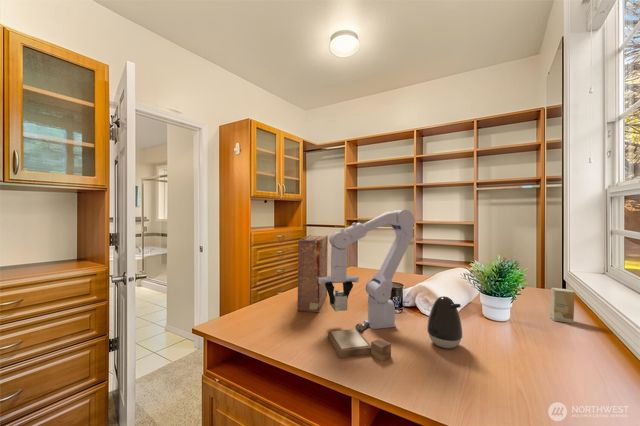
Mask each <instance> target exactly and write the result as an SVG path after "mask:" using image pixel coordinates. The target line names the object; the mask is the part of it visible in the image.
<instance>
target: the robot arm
mask: <svg viewBox="0 0 640 426" xmlns="http://www.w3.org/2000/svg"><path fill="white" fill-rule="evenodd" d="M415 222H416V220H415V217H414V213H412V211H411V210H409V209H391V210H389V211H385V212H383V213H382V214H380V215H378V216H376V217H373V218H371V219H370V220H369V221H366V222H363V223H361V222H353V223H352V224H351V225H350V226H348V227H345V228H340V231H334V232H333V233H332V234H331V235H330V237H329V239H328V242H329V244H330V245H331V246H330V247H331V248H330V249H331V252H330V276H327V277H322V278H319V284H325V286H326V289H327V295H328V298H329V304H330V303H331V304H333V302H334V299H333V294H334V291H335V286H334V284H342V292H344V293H345V294H346V295H347V301H348V299H349V296H350V293H351V291H352V289H353V287H354V283H359V276H358V275H347V270H348V268H347V267H348V266H347V265H348V251H347V250H348V247H349V246H350V244H352V243H354V242H357V241H358V240H361V239H363V238H365V237H366V235H367V233H368V232H370V231H372V230H375V229H377V228H380V227H382V226H384V225H390V227H391V228H392V229H393V230H394V231H393V232H394V233H395V235H396V236H395V238H394V240H393V242H392V245H391V246H390V249H389V250H388V253H387V254H386V257H385V258H384V259H383V263H382V264H381V266H380V268H379V270H378V272H377V273H375V274H374V275H372V277H371V279H370V280H368V282H367V283H366V285H365V291H366V293H367V295H368V296H367V318H366V319H363V322H364V323H366V322H368V323H369V326H368V327H370V329H372V330H377V329H389V328H395V327H396V320H395V319H396V308H395V304H394V302H393V300H392V299H391V297H392V289H393V287H394V284H393V278H394V275H395V274H396V271H397V269H398V267H399V265H400V263H401V261H402V259H403V257H404V256H405V253H406V251H407V249H408V247H409V245H410V243H411V241H412V239H413V238H414V236H413V233H414V224H415ZM396 328H397V327H396Z"/></svg>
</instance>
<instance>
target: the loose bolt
mask: <svg viewBox="0 0 640 426" xmlns="http://www.w3.org/2000/svg"><path fill="white" fill-rule="evenodd" d="M369 327H370V326H369V323H368V322H364V323H360V322H359V323H357V324H356V325H355V328H354V329H357V330H358V331H359V333H361V332H362V331H364V330H365V329H367V328H369Z"/></svg>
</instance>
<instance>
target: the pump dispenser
mask: <svg viewBox="0 0 640 426" xmlns="http://www.w3.org/2000/svg"><path fill="white" fill-rule="evenodd" d="M458 308H462V306H461V303H455V302H454V301H453V299H452V298H450V297H448V296H446V295H445V296H440V297H438V298H436V299H435V301H434V303H433V305H432V307H431V310H430V313H429V317H428V320H427V326H426V328H427V330H426V331H427V333H428V337H429V339H430V340H431V342H432V343H433V344H434V345H436V346H438V347H440V348H443V349H453V348H456V347H457V346H458V345H459V344H460V343H461V340H462V339H463V337H464V336H463V327H462V326H463V325H462V321H461V317H460V314H459V311H458Z"/></svg>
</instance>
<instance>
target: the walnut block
mask: <svg viewBox="0 0 640 426" xmlns="http://www.w3.org/2000/svg"><path fill="white" fill-rule="evenodd" d="M370 345H371V354H370V355H371V356H372V357H374V358H375V359H377V360H378V361H380V362H382V361H385V360H387V359H389V358H391V357H392V343H391V342H388V341H387V340H385V339H383V338H377V339H375V340H372V341H371V342H370Z"/></svg>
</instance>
